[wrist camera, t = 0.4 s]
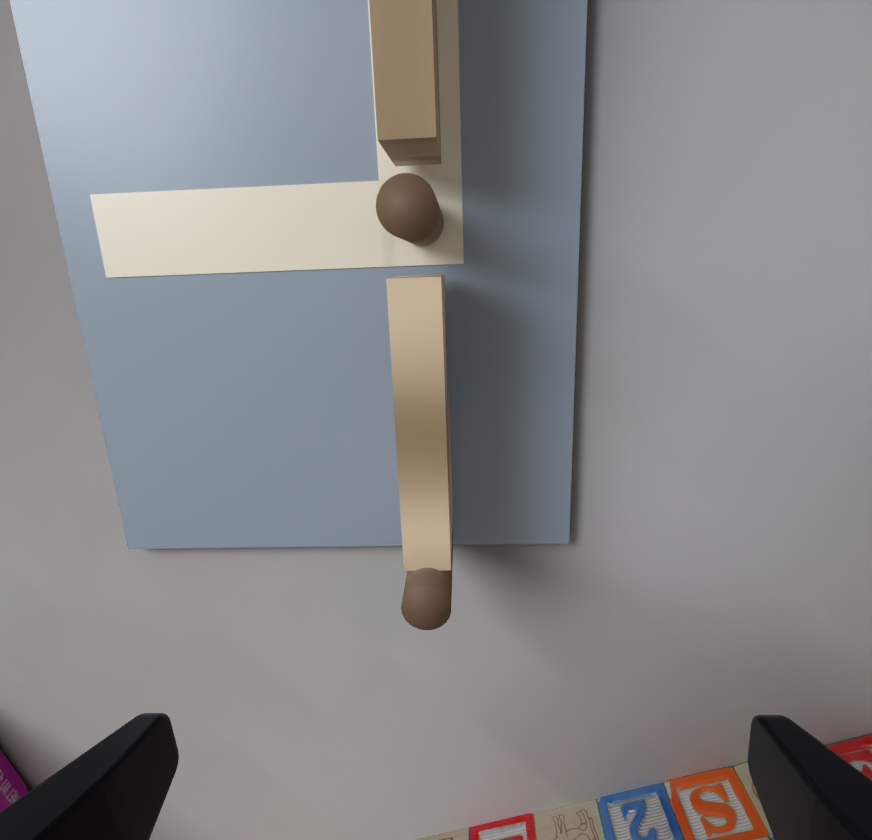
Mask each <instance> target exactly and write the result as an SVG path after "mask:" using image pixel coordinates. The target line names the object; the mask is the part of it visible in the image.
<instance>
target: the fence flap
mask: <svg viewBox="0 0 872 840" xmlns="http://www.w3.org/2000/svg"><path fill="white" fill-rule="evenodd" d="M386 285H387V302H388V318H389V335H390V351H391V368H392V384H393V400H394V417H395V433H396V450H397V466H398V483H399V499H400V515H401V532H402V548H403V565H404V571H407V577H406V583H405V589H404V594H403V600H402V606H401V609H402V614H403V616H404V618H405V620H406V621H407V622H408V623H409V624H410V625H412V626H414V627H415V628H418V629H422V630H432V629H436V628H439V627H440V626H442V625H443V624H445V623H446V622H447V620H448V619H449V617H450V614H451V592H452V556H453V527H452V523H453V509H452V478H451V447H450V415H449V384H448V352H447V321H446V289H445V274H438V275H412V276H398V277H393V278H388V279H386Z"/></svg>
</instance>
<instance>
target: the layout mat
mask: <svg viewBox="0 0 872 840" xmlns="http://www.w3.org/2000/svg"><path fill="white" fill-rule="evenodd" d="M10 4H11V9H12V13H13V18H14V22H15V27H16V32H17V36H18V41H19V46H20V50H21V55H22V59H23V64H24V69H25V73H26V78H27V82H28V87H29V92H30V96H31V101H32V106H33V110H34V115H35V119H36V124H37V129H38V133H39V138H40V143H41V147H42V152H43V156H44V161H45V166H46V170H47V175H48V180H49V184H50V189H51V193H52V198H53V203H54V207H55V212H56V217H57V221H58V226H59V230H60V235H61V240H62V244H63V249H64V253H65V258H66V263H67V267H68V272H69V277H70V281H71V286H72V290H73V295H74V300H75V304H76V309H77V314H78V318H79V323H80V327H81V332H82V337H83V341H84V346H85V351H86V355H87V360H88V364H89V369H90V374H91V378H92V383H93V388H94V392H95V397H96V401H97V406H98V411H99V415H100V420H101V424H102V429H103V434H104V438H105V443H106V448H107V452H108V457H109V461H110V466H111V471H112V475H113V480H114V485H115V489H116V494H117V498H118V503H119V508H120V512H121V517H122V522H123V526H124V531H125V535H126V540H127V545H128V549H173V548H257V547H341V546H402V532H401V515H400V499H399V483H398V466H397V450H396V433H395V417H394V400H393V384H392V368H391V351H390V335H389V318H388V302H387V285H386V279H388V278H393V277H398V276H412V275H438V274H445V289H446V321H447V352H448V384H449V415H450V447H451V478H452V509H453V523H452V527H453V545H508V544H569V535H570V505H571V475H572V445H573V415H574V386H575V356H576V326H577V296H578V266H579V236H580V207H581V177H582V147H583V117H584V87H585V57H586V28H587V0H436V7H437V38H438V70H439V101H440V132H441V164H433V165H413V166H395V165H394V164H393V162H392V161H391V159H390V158H389V156H388V155H387V153H386V152H385V150H384V149H383V147H382V146H381V144H380V143H379V141H378V138H377V121H376V105H375V88H374V72H373V56H372V39H371V23H370V6H369V0H10ZM401 173H411V174H415V175H418V176H420V177H422V178H423V179H424V180H426V181H427V182H428V183H429V184H430V186H431V187H432V189H433V191H434V193H435V196H436V198H437V201H438V204H439V207H440V209H441V212H442V215H443V219H444V227H443V231H442V233H441V235H440V237H439V238H438V239H437V240H436V241H435V242H433V243H432V244H429V245H426V246H418V245H414V244H412V243H410V242H407V241H405V240H403V239H400V238H398V237H396V236H394V235H392V234H390V233H389V232H388V231H386V229H385V228H384V227H383V226H382V225H381V223H380V221H379V219H378V216H377V212H376V199H377V195H378V192H379V190H380V188H381V187H382V185H383V184H384V183H385V182H386V181H387V180H388V179H389V178H391V177H392V176H395V175H397V174H401Z"/></svg>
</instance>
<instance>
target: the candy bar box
mask: <svg viewBox="0 0 872 840" xmlns="http://www.w3.org/2000/svg"><path fill="white" fill-rule="evenodd" d="M29 791H30V790H29V788H28V787H27V785H26V784H25V783H24V781H23V780H22V779H21V777H20V776H19V774H18V773H17V772H16V770H15V769H14V768H13V766H12V765H11V763H10V762H9V761H8V759H7V758H6V757H5V755H4V754H3V752H2V751H1V750H0V812H1V811H2V810H4V809H5V808H7V807H8V806H10V805H11V804H12V803H14V802H15V801H17V800H18V799H20V798H21V797H22V796H24V795H25V794H27V793H28V792H29Z"/></svg>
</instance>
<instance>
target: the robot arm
mask: <svg viewBox="0 0 872 840" xmlns="http://www.w3.org/2000/svg"><path fill="white" fill-rule="evenodd" d="M178 759H179V755H178V748H177V744H176V741H175V737H174V733H173V729H172V725H171V721H170V718H169V717H168V716H167V715H166V714H164V713H144V714H140V715H138V716H137V717H135V718H134V719H132V720H131V721H129V722H128V723H126V724H125V725H124V726H122V727H121V728H119V729H118V730H116V731H115V732H114V733H112V734H111V735H109V736H108V737H106V738H105V739H104V740H102V741H101V742H99V743H98V744H97V745H95V746H94V747H92V748H91V749H89V750H88V751H87V752H85V753H84V754H82V755H81V756H79V757H78V758H77V759H75V760H74V761H72V762H71V763H69V764H68V765H67V766H65V767H64V768H62V769H61V770H59V771H58V772H57V773H55V774H54V775H52V776H51V777H49V778H48V779H47V780H45V781H44V782H42V783H41V784H39V785H38V786H37V787H35V788H34V789H32V790H31V791H29V792H28V793H27V794H25V795H24V796H22V797H21V798H20V799H18V800H17V801H15V802H14V803H12V804H11V805H10V806H8V807H7V808H5V809H4V810H2V811H1V812H0V840H149V838H150V836H151V833H152V831H153V828H154V826H155V823H156V821H157V818H158V815H159V813H160V810H161V808H162V805H163V803H164V800H165V798H166V795H167V792H168V790H169V787H170V785H171V782H172V780H173V777H174V775H175V772H176V769H177V765H178ZM748 767H749V772H750V776H751V779H752V781H753V784H754V787H755V789H756V792H757V795H758V797H759V800H760V803H761V805H762V808H763V811H764V813H765V816H766V819H767V821H768V824H769V826H770V829H771V832H772V834H773V837H774V840H872V780H871V779H869V778H868V777H867V776H865V775H864V774H863V773H861V772H860V771H859V770H857V769H856V768H855V767H853V766H852V765H851V764H849V763H848V762H847V761H845V760H844V759H843V758H841V757H840V756H839V755H837V754H836V753H835V752H833V751H832V750H831V749H829V748H828V747H827V746H825V745H824V744H823V743H821V742H820V741H819V740H817V739H816V738H814V737H813V736H812V735H810V734H809V733H808V732H806V731H805V730H804V729H802V728H801V727H800V726H798V725H797V724H796V723H794V722H793V721H792V720H790V719H789V718H787V717H785V716H782V715H757V716H755V717H754V718H753V720H752V723H751V732H750V741H749V751H748Z"/></svg>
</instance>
